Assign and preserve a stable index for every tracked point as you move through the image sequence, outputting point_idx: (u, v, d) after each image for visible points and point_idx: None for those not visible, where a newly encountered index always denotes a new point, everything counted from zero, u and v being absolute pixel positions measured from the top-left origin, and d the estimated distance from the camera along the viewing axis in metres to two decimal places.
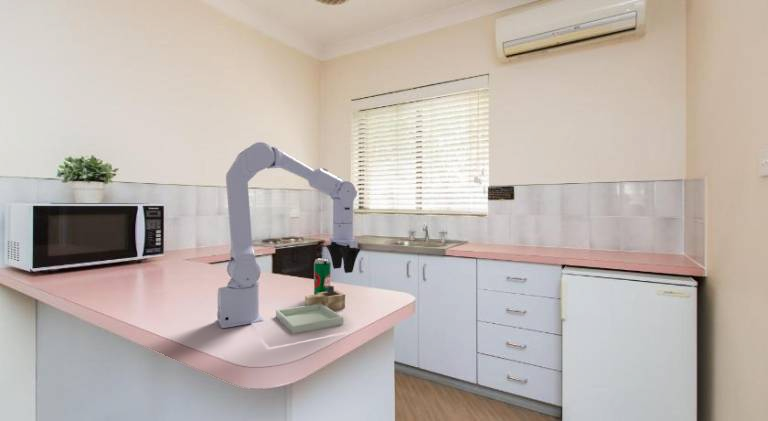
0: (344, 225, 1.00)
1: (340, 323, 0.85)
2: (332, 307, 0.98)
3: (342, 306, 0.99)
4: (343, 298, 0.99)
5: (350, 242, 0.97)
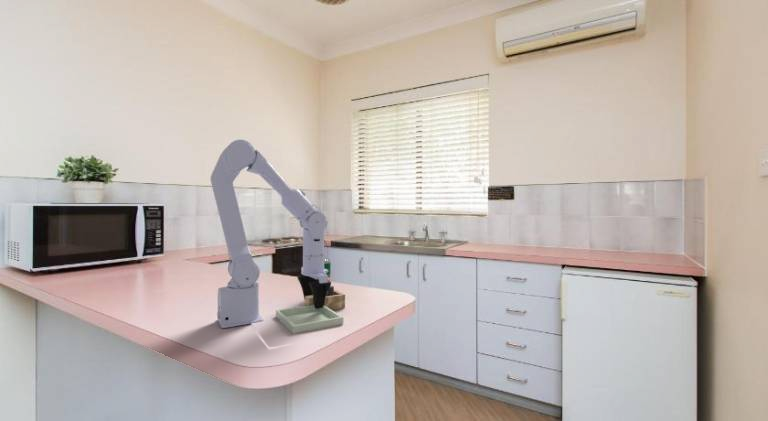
0: (314, 258, 0.95)
1: (340, 323, 0.85)
2: (332, 307, 0.98)
3: (342, 306, 0.99)
4: (343, 298, 0.99)
5: (319, 277, 0.91)
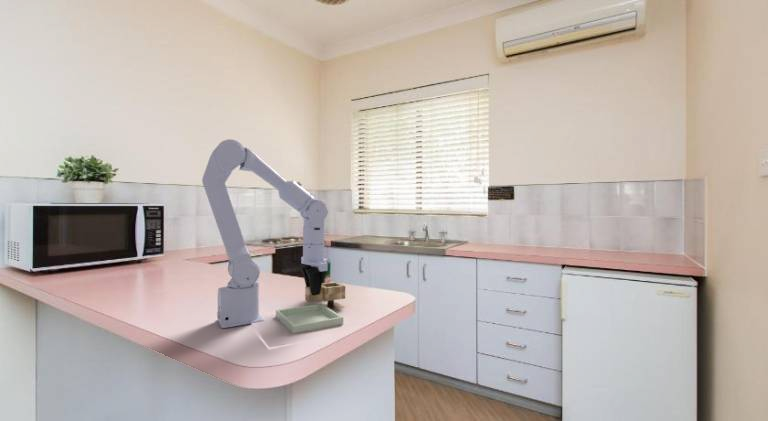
0: (314, 246, 0.95)
1: (340, 323, 0.85)
2: (332, 298, 0.98)
3: (342, 297, 0.99)
4: (343, 289, 0.99)
5: (319, 265, 0.91)
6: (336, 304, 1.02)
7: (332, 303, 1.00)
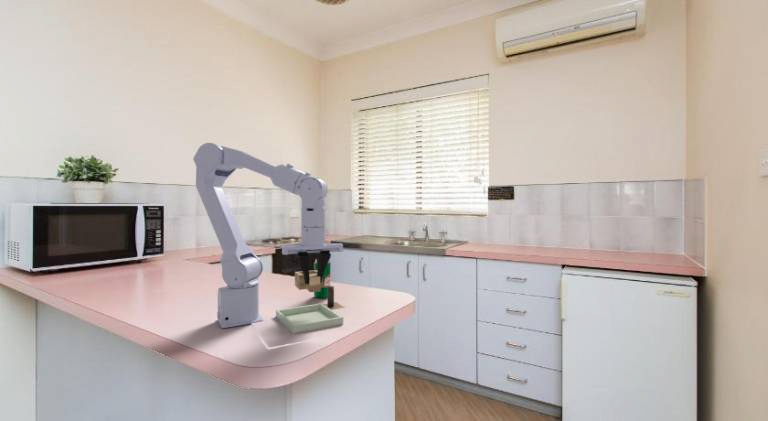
0: None
1: (340, 323, 0.85)
2: None
3: None
4: None
5: (341, 246, 0.89)
6: (336, 304, 1.02)
7: (332, 303, 1.00)
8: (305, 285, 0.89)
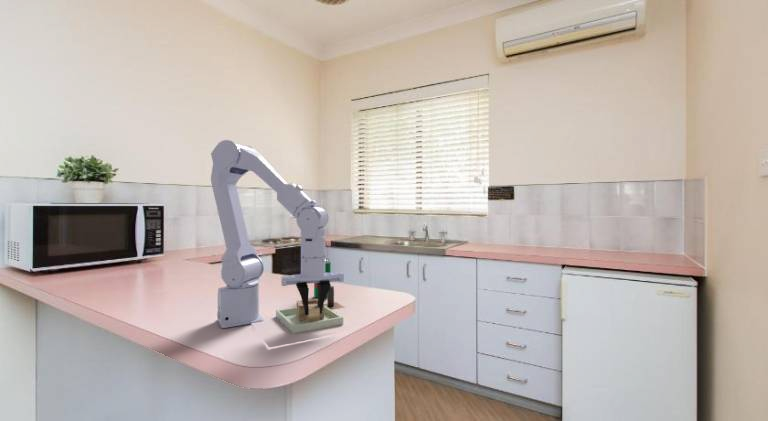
0: None
1: (340, 323, 0.85)
2: None
3: None
4: None
5: (342, 275, 0.87)
6: (336, 304, 1.02)
7: (332, 303, 1.00)
8: (305, 316, 0.87)
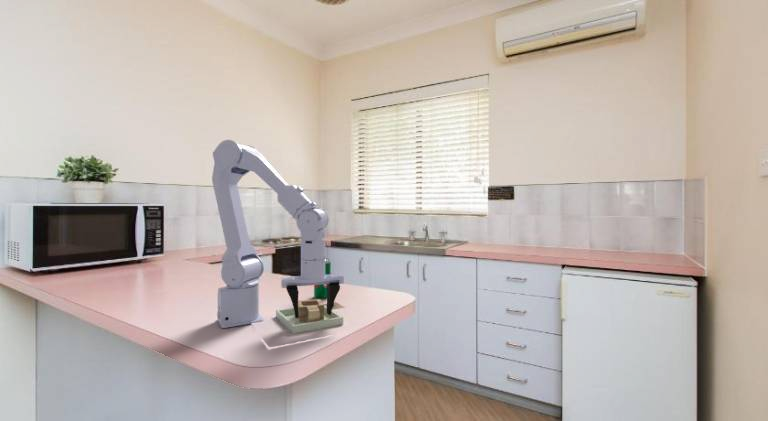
0: None
1: (340, 323, 0.85)
2: None
3: None
4: None
5: (341, 277, 0.87)
6: (336, 304, 1.02)
7: None
8: (305, 317, 0.87)
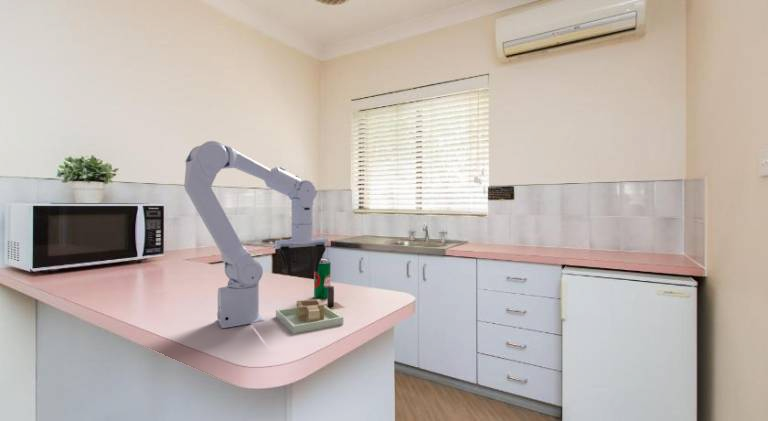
0: (312, 225, 1.00)
1: (340, 323, 0.85)
2: None
3: None
4: None
5: (326, 240, 1.02)
6: (336, 304, 1.02)
7: (332, 303, 1.00)
8: (305, 317, 0.87)
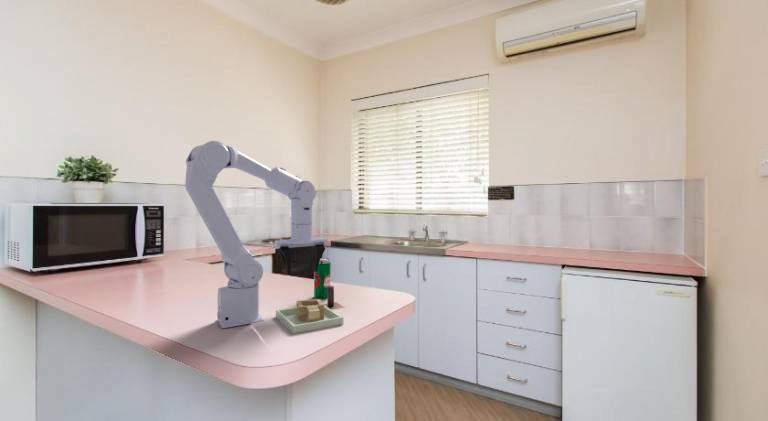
0: None
1: (340, 323, 0.85)
2: None
3: None
4: None
5: (325, 240, 1.03)
6: (336, 304, 1.02)
7: (332, 303, 1.00)
8: (305, 317, 0.87)
